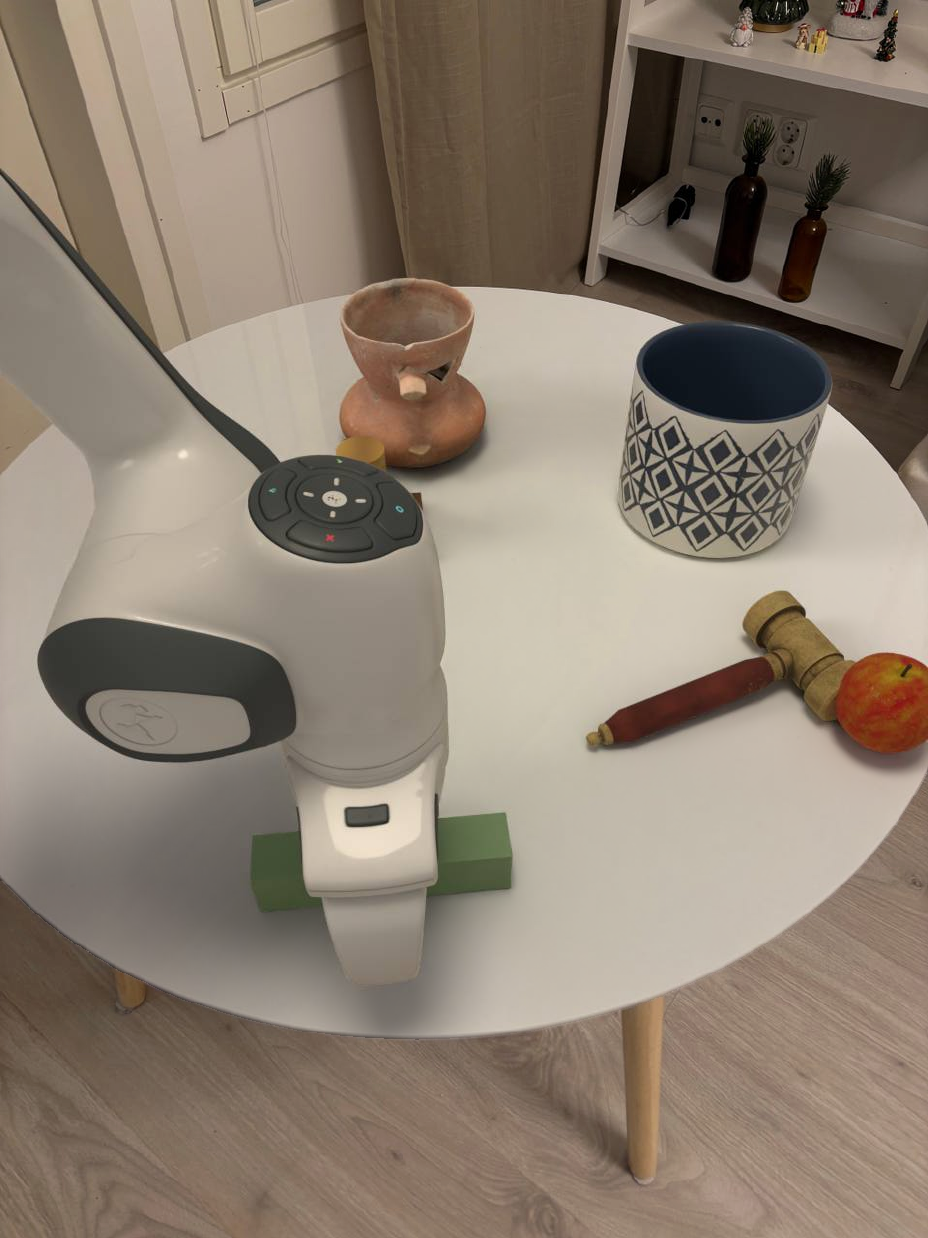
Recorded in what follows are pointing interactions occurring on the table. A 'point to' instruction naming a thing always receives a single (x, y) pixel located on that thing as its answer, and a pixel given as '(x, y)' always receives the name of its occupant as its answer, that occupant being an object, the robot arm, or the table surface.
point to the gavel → (744, 674)
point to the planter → (720, 436)
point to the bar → (466, 864)
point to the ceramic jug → (411, 371)
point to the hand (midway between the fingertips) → (383, 865)
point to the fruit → (885, 702)
